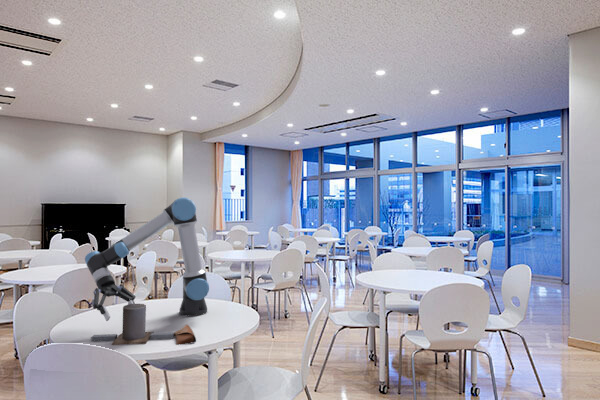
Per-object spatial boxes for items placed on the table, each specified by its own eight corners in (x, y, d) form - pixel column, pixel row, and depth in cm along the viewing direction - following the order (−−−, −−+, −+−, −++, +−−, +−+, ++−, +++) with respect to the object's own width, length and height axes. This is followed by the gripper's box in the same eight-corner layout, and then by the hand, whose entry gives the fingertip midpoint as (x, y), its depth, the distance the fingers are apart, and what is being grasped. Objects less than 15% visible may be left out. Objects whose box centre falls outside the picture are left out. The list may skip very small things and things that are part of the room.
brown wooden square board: (153, 333, 188) (153, 331, 188) (145, 343, 174) (145, 341, 174) (122, 334, 187) (122, 332, 187) (111, 344, 173) (111, 342, 173)
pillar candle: (117, 338, 178) (117, 304, 178) (133, 332, 187) (133, 299, 187) (135, 341, 175) (135, 306, 175) (150, 334, 184) (150, 301, 184)
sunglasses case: (171, 333, 189) (179, 319, 191) (184, 339, 191) (192, 326, 193) (176, 345, 173) (184, 330, 174) (190, 351, 175) (198, 337, 176)
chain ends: (174, 336, 184) (174, 332, 184) (173, 338, 181) (173, 334, 181) (93, 339, 180) (93, 334, 180) (91, 341, 177) (91, 337, 177)
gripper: (124, 280, 205) (142, 314, 197) (74, 288, 184) (92, 327, 176) (130, 271, 203) (149, 305, 194) (81, 278, 182) (99, 316, 173)
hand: (122, 315), depth 185 cm, fingers open, 13 cm apart
